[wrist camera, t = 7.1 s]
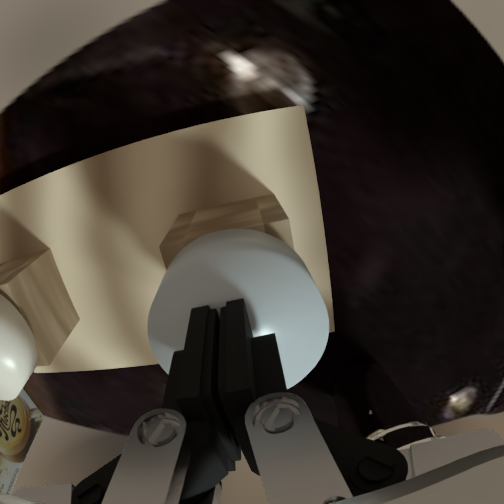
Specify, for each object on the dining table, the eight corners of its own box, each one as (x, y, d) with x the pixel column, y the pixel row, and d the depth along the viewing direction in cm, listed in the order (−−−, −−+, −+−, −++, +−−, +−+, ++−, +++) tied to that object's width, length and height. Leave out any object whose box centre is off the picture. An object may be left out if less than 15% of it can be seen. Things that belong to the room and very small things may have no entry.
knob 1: (51, 242, 17) (-22, 300, 10) (86, 325, 19) (39, 402, 12) (-7, 260, 17) (-73, 312, 10) (26, 333, 19) (-23, 397, 12)
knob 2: (282, 188, 16) (318, 234, 9) (299, 291, 18) (333, 383, 11) (166, 213, 16) (120, 275, 9) (197, 312, 18) (180, 409, 12)
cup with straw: (339, 426, 27) (393, 614, 8) (284, 380, 24) (331, 637, 5) (416, 377, 25) (513, 557, 6) (377, 318, 22) (516, 565, 4)
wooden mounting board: (297, 106, 17) (330, 95, 11) (329, 319, 22) (357, 382, 16) (-26, 209, 17) (-83, 237, 11) (41, 362, 23) (10, 413, 16)
